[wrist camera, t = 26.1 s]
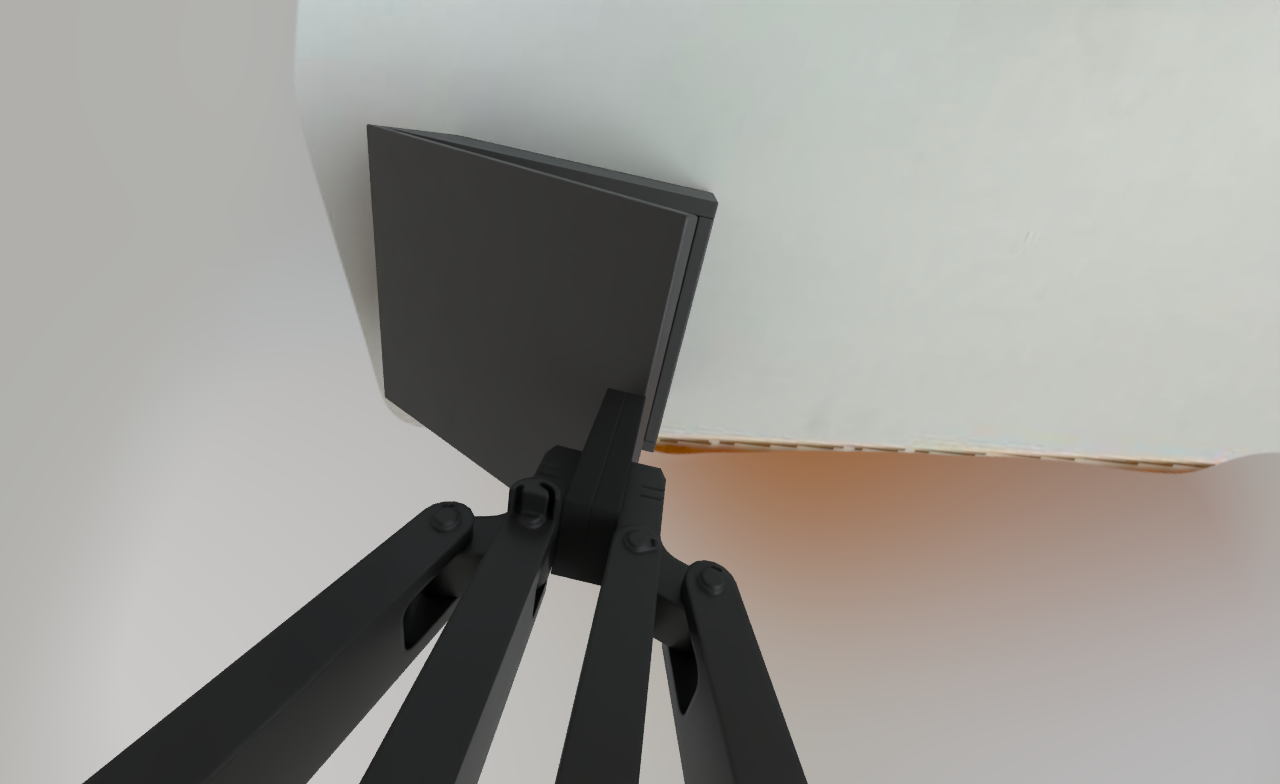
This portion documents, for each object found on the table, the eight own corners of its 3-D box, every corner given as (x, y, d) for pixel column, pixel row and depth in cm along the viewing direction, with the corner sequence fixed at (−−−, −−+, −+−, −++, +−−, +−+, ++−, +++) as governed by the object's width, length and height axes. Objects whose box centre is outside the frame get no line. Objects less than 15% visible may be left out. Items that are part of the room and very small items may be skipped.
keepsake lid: (699, 215, 15) (687, 215, 15) (617, 550, 22) (607, 559, 22) (381, 126, 23) (365, 123, 22) (396, 393, 30) (384, 397, 30)
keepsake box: (713, 193, 30) (718, 202, 23) (662, 396, 38) (653, 453, 30) (456, 135, 31) (379, 125, 23) (453, 347, 38) (394, 392, 30)
